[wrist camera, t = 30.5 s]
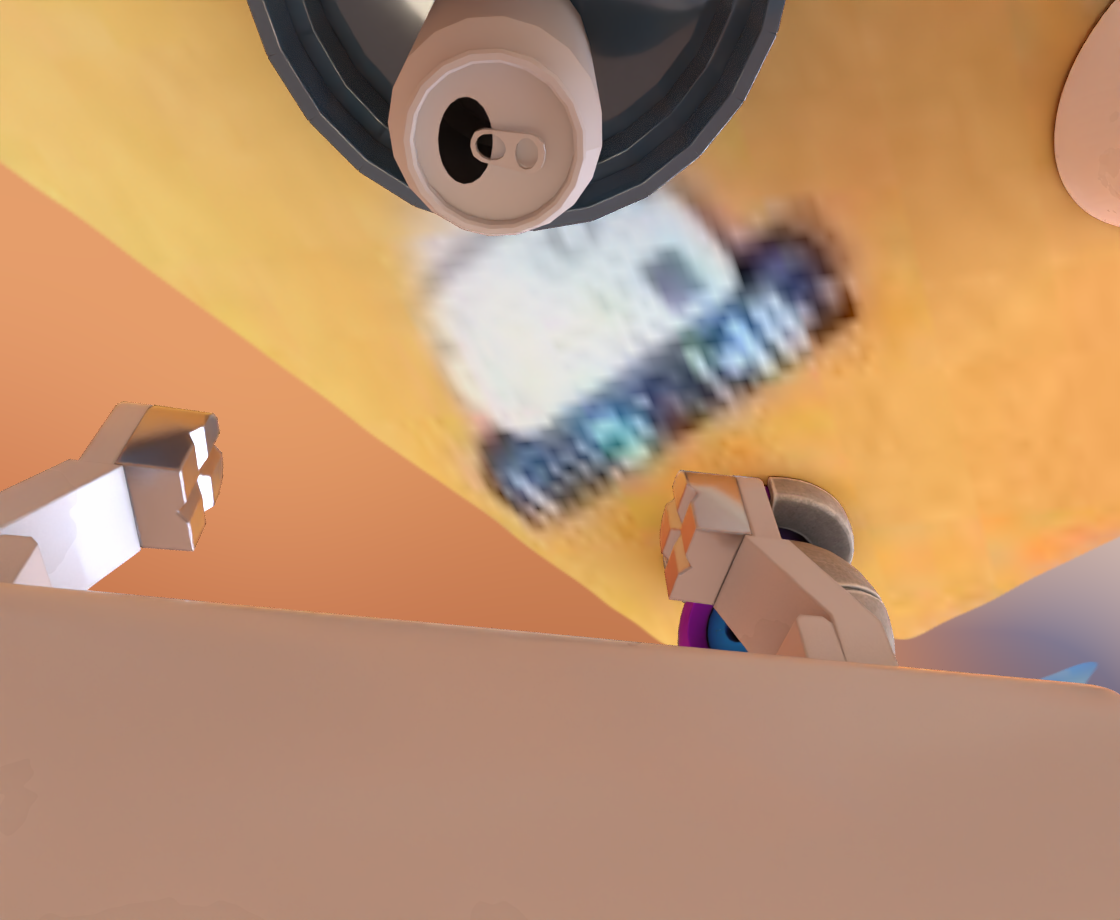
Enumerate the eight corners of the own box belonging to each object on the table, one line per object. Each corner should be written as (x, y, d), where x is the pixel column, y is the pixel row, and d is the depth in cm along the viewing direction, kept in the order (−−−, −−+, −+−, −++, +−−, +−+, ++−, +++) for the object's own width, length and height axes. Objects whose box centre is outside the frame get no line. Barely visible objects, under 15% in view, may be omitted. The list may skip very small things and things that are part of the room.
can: (421, -51, 34) (377, 13, 25) (601, -28, 35) (622, 43, 25) (420, 133, 39) (383, 245, 29) (578, 151, 39) (589, 265, 30)
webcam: (777, 446, 52) (844, 636, 40) (886, 543, 58) (971, 734, 46) (627, 550, 58) (648, 743, 46) (739, 629, 64) (783, 818, 52)
